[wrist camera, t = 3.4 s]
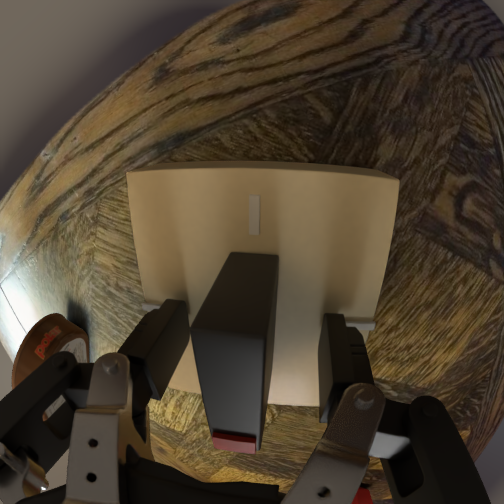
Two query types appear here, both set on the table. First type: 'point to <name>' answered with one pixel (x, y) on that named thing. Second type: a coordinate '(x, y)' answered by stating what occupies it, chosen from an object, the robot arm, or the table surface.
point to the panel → (267, 248)
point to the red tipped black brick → (237, 349)
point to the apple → (362, 497)
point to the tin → (49, 349)
